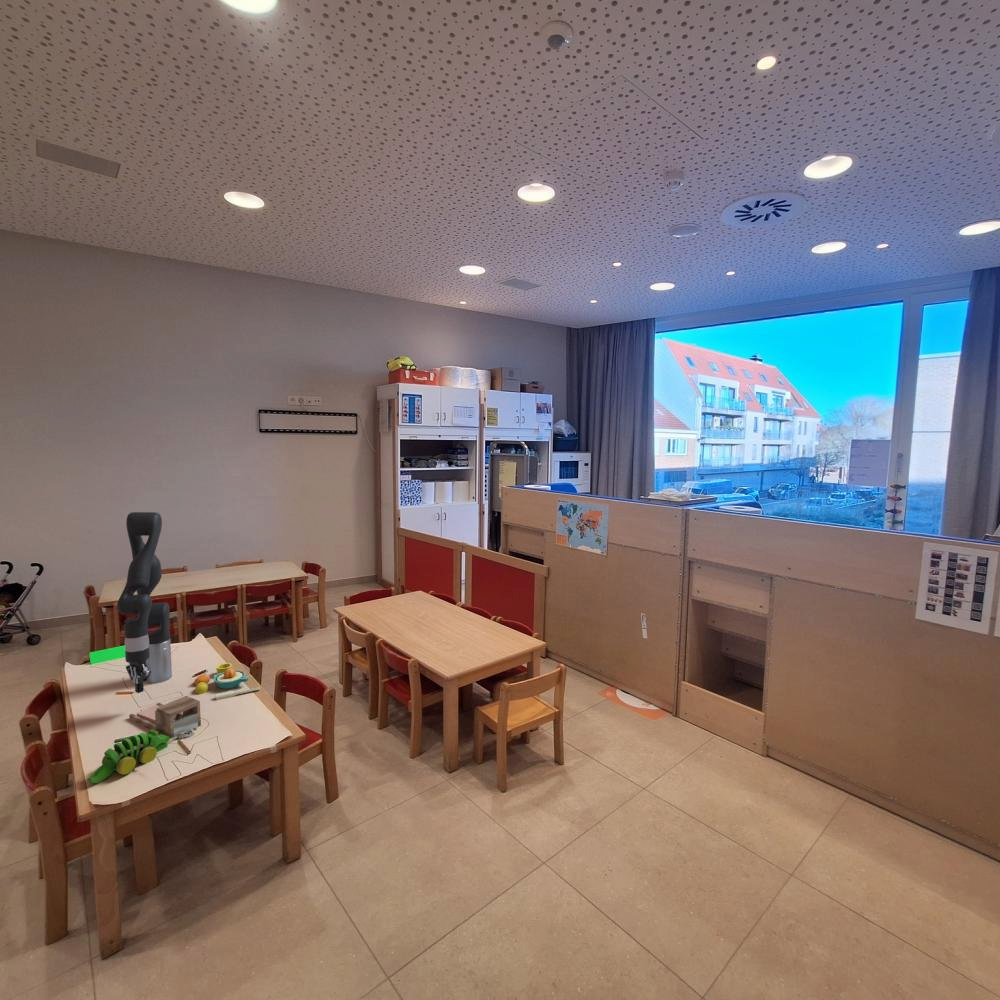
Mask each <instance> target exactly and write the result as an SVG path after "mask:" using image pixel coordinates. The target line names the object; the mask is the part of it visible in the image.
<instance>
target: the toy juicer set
mask: <svg viewBox="0 0 1000 1000" xmlns="http://www.w3.org/2000/svg"><path fill="white" fill-rule="evenodd" d="M232 665H233V664H232V663H230V662H226V663H220V664H218V665H217V666H215V668H216V674H214V675H213V681H214V683H215V685H217V687H218V688H220V689H223V690H224V689H225V690H229V689H234V688H236V687H238V686H239V685H240V684H241V683H246V682H248V681H249V676H248V675H246V672H244V671H242V670H236V669H233V668H232ZM208 671H209V670H208V669H206V670H205V672H204V673H202V674H200V675H198V676H197V677H196V678H195V679H194V681H193V682H194V685H195V688H194V691H195V693H196V694H198V695H202V694H204V693H207V692H208V689H209V685H208V683H209V681H211V680H210V679H211V678H210V676H209V675H208V674H207V673H208ZM228 688H229V689H228ZM260 690H261V686H258V687H254V688H248V689H245V690H240V691H233V690H231V691H226V692H220V693H215V701H219V700H223V699H228V698H233V697H235V696H236V695H241V694H245V693H250V692H254V691H260Z"/></svg>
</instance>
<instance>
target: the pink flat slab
mask: <svg viewBox="0 0 1000 1000" xmlns="http://www.w3.org/2000/svg"><path fill="white" fill-rule="evenodd" d="M158 707H161V706H158V705H156V704H155V705H153V706H150V707H148V708H145V709H143V710H141V711H139V712H136V716H139V717H141V718H143V719H145V720H147V721H149V722H152V723H154V724H156V721H155V711H156V710H157V709H156V708H158ZM175 720H178V718H177V715H174V716H173V721H175Z"/></svg>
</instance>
